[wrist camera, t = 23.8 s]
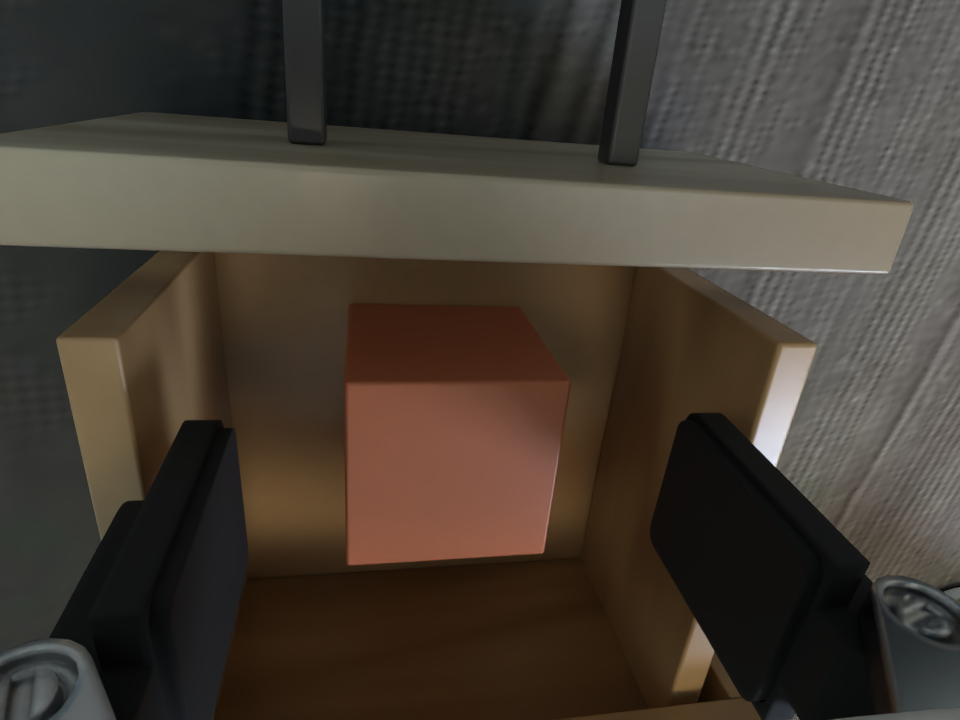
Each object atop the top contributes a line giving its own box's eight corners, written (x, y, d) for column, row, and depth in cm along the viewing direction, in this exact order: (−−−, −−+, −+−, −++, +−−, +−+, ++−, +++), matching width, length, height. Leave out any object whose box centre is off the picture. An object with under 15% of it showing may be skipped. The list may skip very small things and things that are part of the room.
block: (350, 452, 17) (345, 567, 13) (349, 302, 15) (343, 382, 11) (504, 448, 18) (544, 555, 14) (520, 305, 16) (573, 380, 12)
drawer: (108, -123, 12) (-212, -373, 5) (731, -35, 14) (1042, -131, 8) (204, 574, 19) (121, 834, 12) (606, 549, 21) (712, 754, 15)
